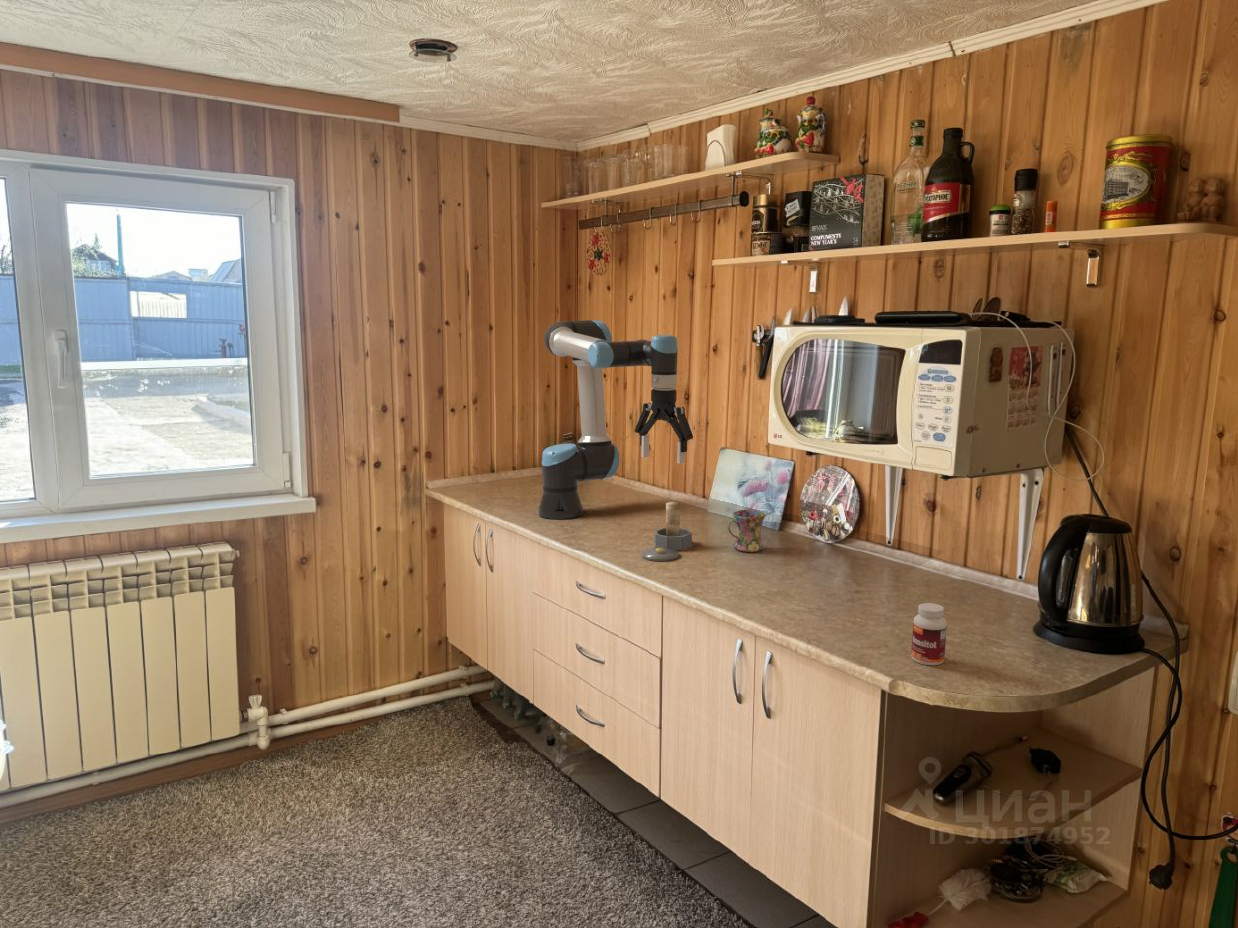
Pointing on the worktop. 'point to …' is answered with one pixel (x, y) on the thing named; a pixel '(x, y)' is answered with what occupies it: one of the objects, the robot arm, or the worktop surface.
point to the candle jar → (673, 539)
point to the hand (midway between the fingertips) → (662, 459)
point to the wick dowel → (672, 519)
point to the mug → (748, 530)
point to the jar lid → (660, 554)
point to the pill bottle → (929, 635)
